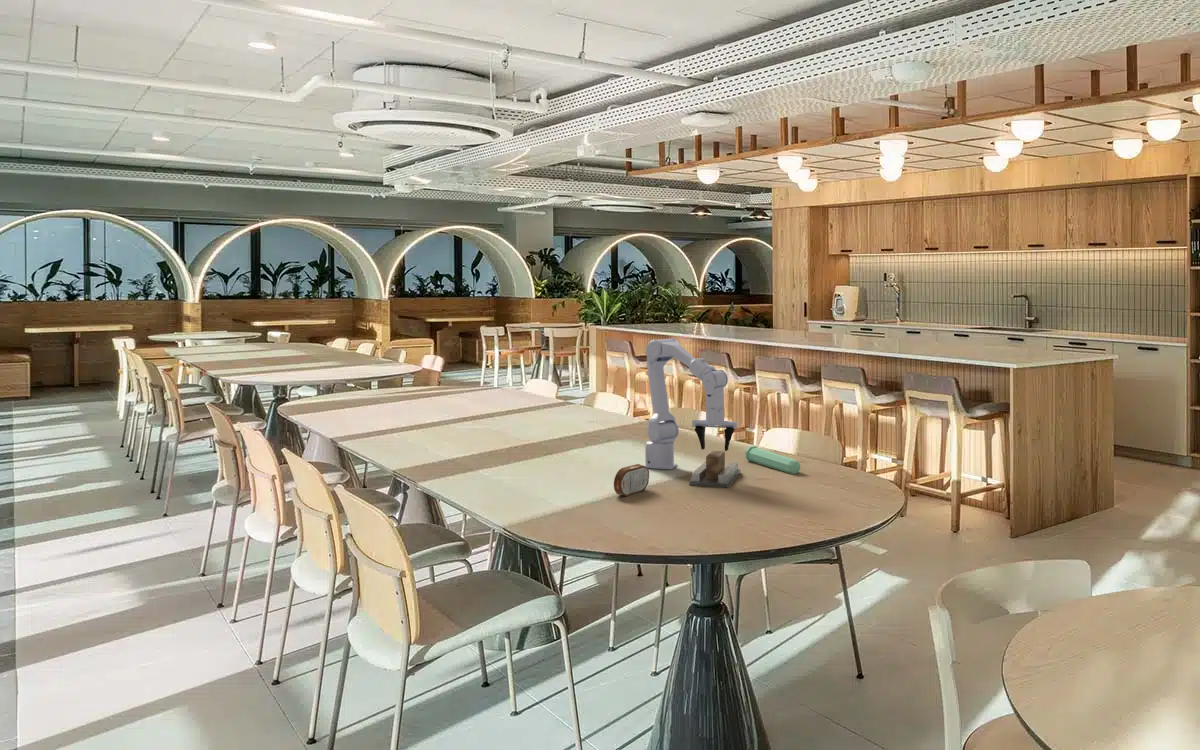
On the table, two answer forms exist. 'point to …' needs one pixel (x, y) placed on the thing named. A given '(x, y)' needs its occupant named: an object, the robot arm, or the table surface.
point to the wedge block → (715, 464)
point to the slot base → (722, 481)
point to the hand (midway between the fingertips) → (714, 449)
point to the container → (772, 460)
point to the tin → (631, 480)
